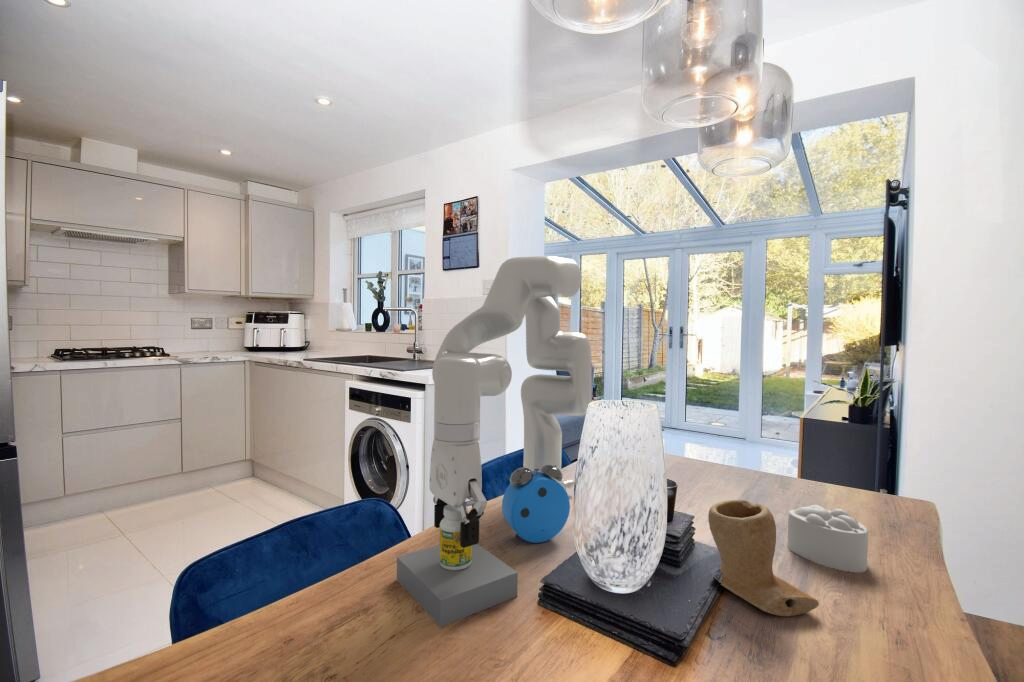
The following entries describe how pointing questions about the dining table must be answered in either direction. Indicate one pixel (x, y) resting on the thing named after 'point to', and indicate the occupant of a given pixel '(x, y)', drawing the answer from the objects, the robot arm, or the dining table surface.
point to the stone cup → (753, 558)
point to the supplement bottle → (453, 541)
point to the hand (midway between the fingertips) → (455, 534)
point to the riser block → (456, 583)
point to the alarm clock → (536, 503)
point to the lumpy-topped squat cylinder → (828, 538)
